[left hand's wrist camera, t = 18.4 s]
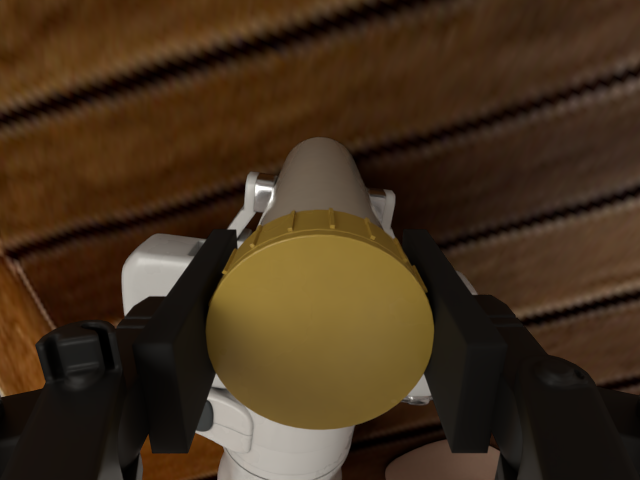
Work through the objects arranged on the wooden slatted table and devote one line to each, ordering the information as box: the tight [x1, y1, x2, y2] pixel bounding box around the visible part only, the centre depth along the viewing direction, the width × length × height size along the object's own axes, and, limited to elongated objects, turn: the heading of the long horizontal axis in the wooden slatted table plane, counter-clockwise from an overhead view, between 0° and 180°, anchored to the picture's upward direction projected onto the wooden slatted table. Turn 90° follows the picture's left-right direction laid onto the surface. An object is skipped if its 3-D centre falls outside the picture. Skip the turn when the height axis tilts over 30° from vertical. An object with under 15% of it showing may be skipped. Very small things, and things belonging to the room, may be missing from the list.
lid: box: [206, 208, 434, 430], centre depth 11 cm, size 6×6×2 cm
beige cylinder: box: [256, 137, 384, 230], centre depth 20 cm, size 5×5×19 cm
